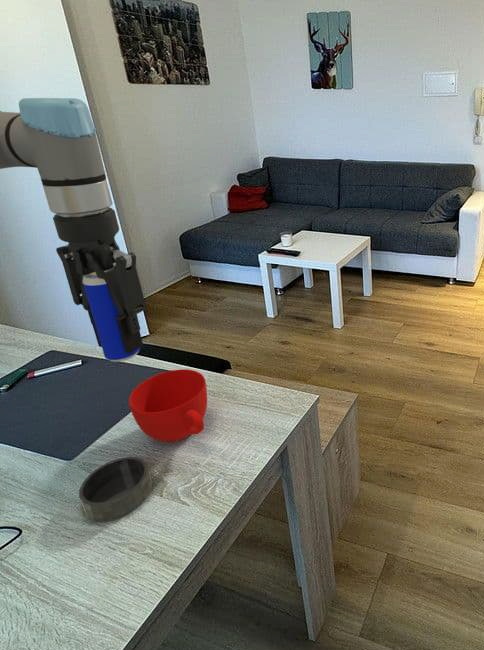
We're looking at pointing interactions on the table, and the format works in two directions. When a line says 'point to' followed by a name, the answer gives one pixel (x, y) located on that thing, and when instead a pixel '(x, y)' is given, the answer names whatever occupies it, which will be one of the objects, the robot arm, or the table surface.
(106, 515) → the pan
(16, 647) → the table surface
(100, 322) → the beverage can
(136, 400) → the ceramic cup
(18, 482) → the table surface
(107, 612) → the table surface
